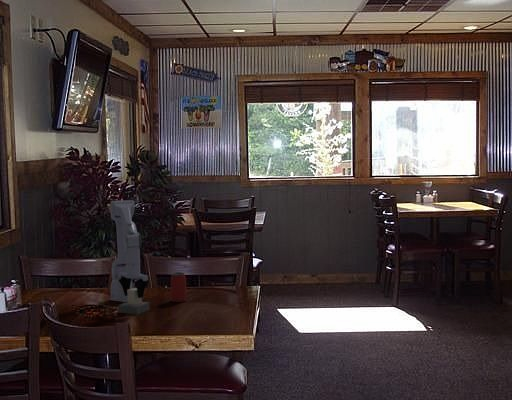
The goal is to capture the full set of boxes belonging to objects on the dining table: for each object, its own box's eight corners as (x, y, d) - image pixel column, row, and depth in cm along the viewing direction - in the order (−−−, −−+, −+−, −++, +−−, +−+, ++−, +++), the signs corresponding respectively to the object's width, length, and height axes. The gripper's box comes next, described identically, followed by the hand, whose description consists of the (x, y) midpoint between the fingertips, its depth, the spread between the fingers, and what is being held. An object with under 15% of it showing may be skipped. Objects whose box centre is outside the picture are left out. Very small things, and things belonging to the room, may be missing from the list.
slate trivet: (118, 312, 276) (118, 305, 276) (131, 307, 284) (131, 300, 284) (137, 314, 272) (136, 307, 272) (149, 309, 280) (149, 302, 280)
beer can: (183, 302, 292) (183, 275, 291) (169, 302, 294) (168, 274, 293) (188, 299, 299) (187, 272, 298) (173, 299, 300) (173, 272, 299)
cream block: (127, 304, 278) (127, 289, 277) (134, 302, 281) (134, 287, 281) (134, 305, 276) (134, 290, 275) (141, 303, 279) (141, 288, 278)
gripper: (113, 263, 278) (114, 296, 279) (138, 266, 269) (139, 300, 270) (125, 261, 283) (126, 293, 284) (151, 264, 275) (152, 297, 276)
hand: (133, 296), depth 278 cm, fingers open, 7 cm apart
